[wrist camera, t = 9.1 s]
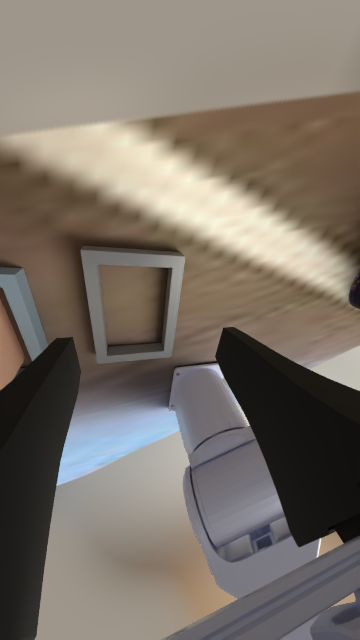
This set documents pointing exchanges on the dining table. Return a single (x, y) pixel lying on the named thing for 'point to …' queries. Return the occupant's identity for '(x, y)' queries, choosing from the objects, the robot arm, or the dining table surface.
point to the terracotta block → (8, 350)
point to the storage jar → (355, 293)
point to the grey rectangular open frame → (91, 262)
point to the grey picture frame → (23, 310)
